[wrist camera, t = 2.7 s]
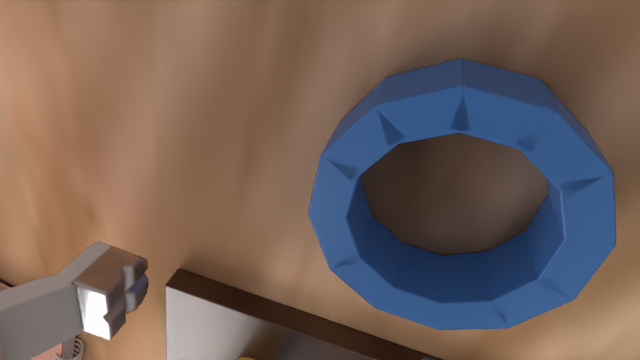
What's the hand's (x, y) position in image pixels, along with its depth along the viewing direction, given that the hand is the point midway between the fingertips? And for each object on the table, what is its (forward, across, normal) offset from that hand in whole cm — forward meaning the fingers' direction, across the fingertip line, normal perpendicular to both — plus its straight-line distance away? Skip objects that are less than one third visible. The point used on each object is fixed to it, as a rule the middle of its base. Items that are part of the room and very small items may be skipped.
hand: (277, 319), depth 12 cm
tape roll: (+9, -5, -1) cm, 10 cm away
